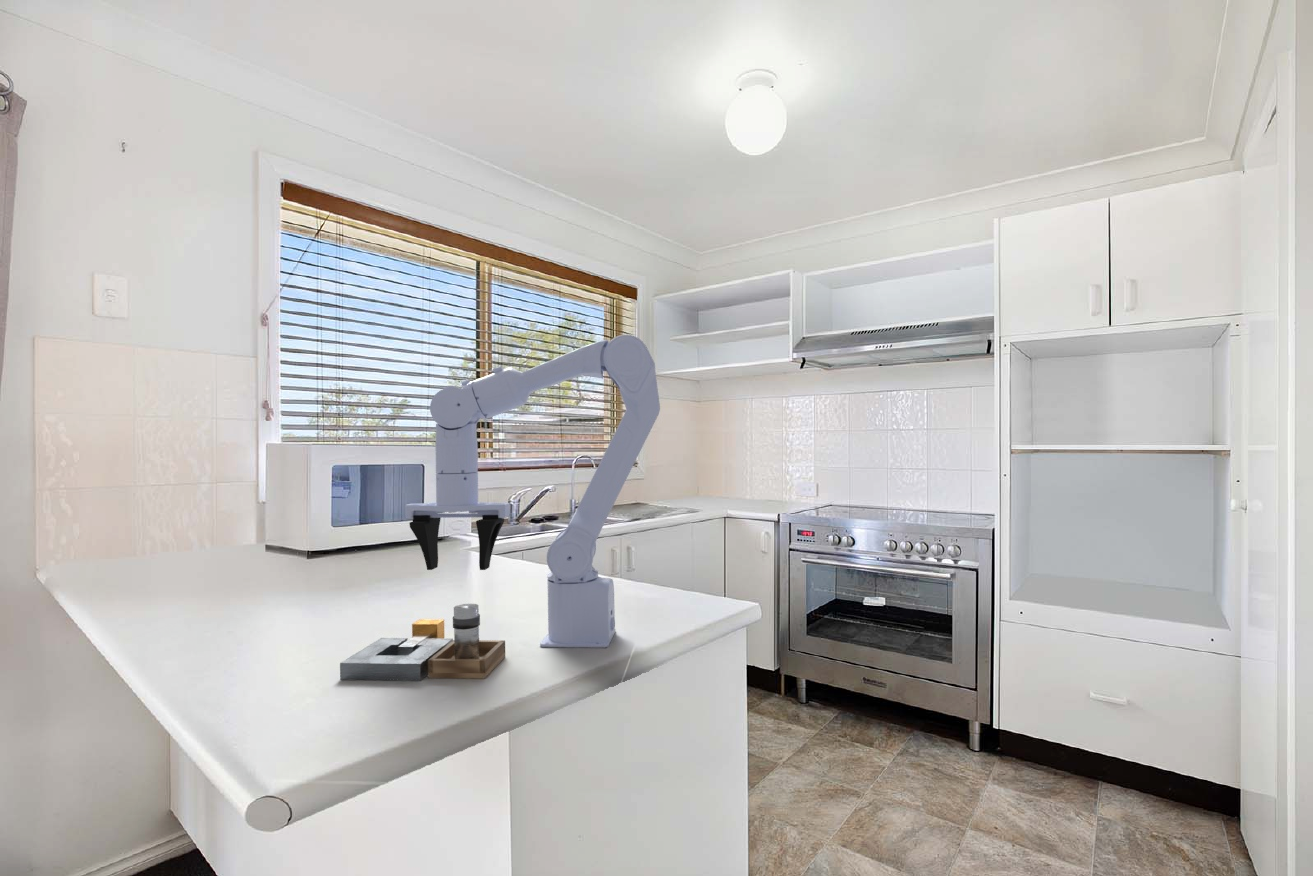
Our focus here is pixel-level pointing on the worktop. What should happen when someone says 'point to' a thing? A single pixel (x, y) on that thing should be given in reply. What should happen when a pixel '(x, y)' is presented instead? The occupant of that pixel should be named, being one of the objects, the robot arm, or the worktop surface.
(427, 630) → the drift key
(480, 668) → the square wooden tray
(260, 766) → the worktop surface
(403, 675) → the socket
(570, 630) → the robot arm
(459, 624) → the silver metal canister
